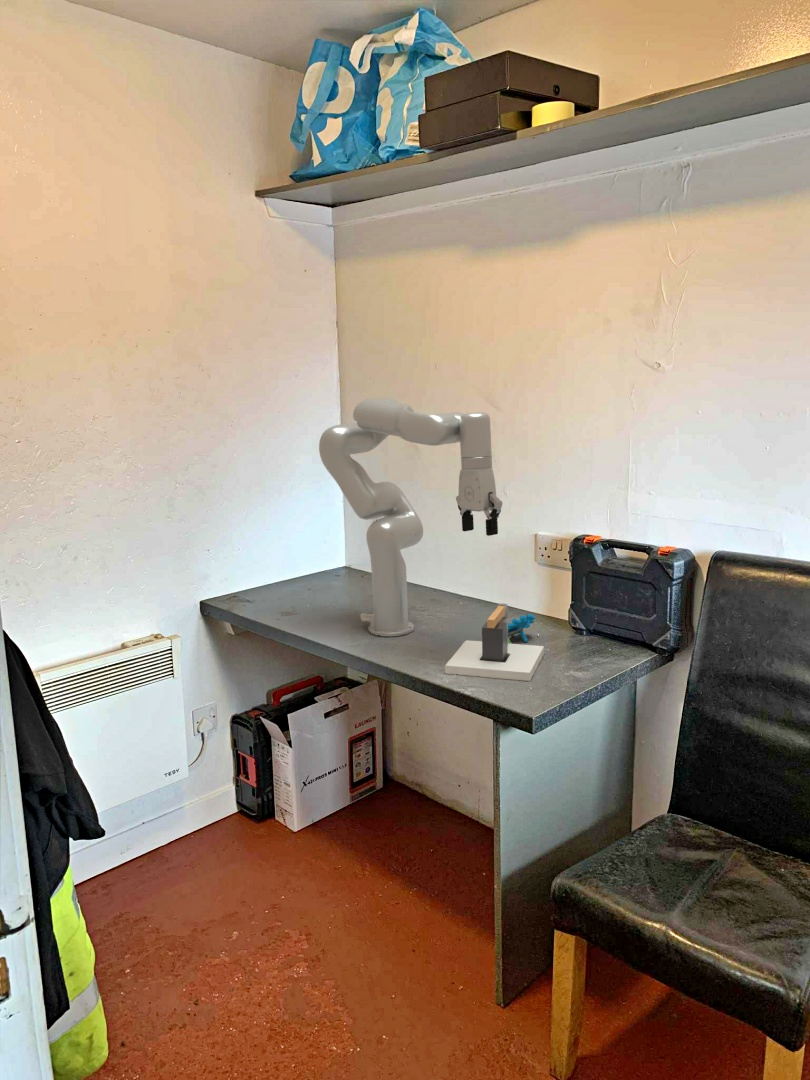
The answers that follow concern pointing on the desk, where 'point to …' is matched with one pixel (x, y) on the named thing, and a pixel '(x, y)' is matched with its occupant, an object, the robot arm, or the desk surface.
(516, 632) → the blue spiky figurine
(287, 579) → the desk surface
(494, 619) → the clip
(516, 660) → the socket block
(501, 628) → the plug
